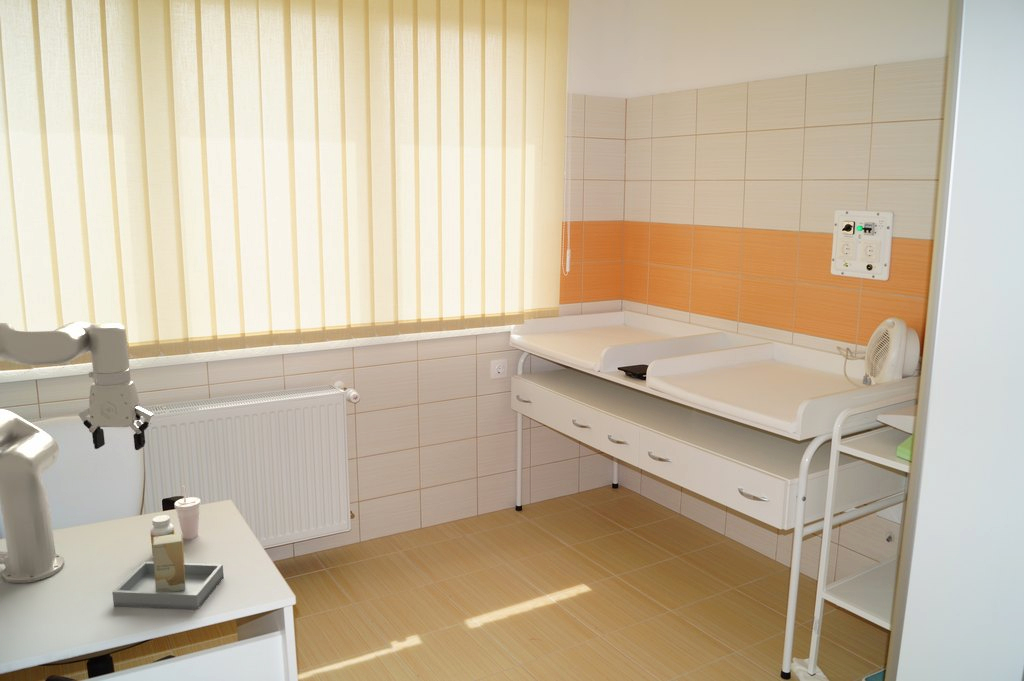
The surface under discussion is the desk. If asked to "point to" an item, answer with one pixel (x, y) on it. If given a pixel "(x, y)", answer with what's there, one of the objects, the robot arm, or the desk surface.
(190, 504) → the smoothie
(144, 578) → the tray
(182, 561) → the skincare box
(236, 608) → the desk surface
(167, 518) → the supplement bottle
